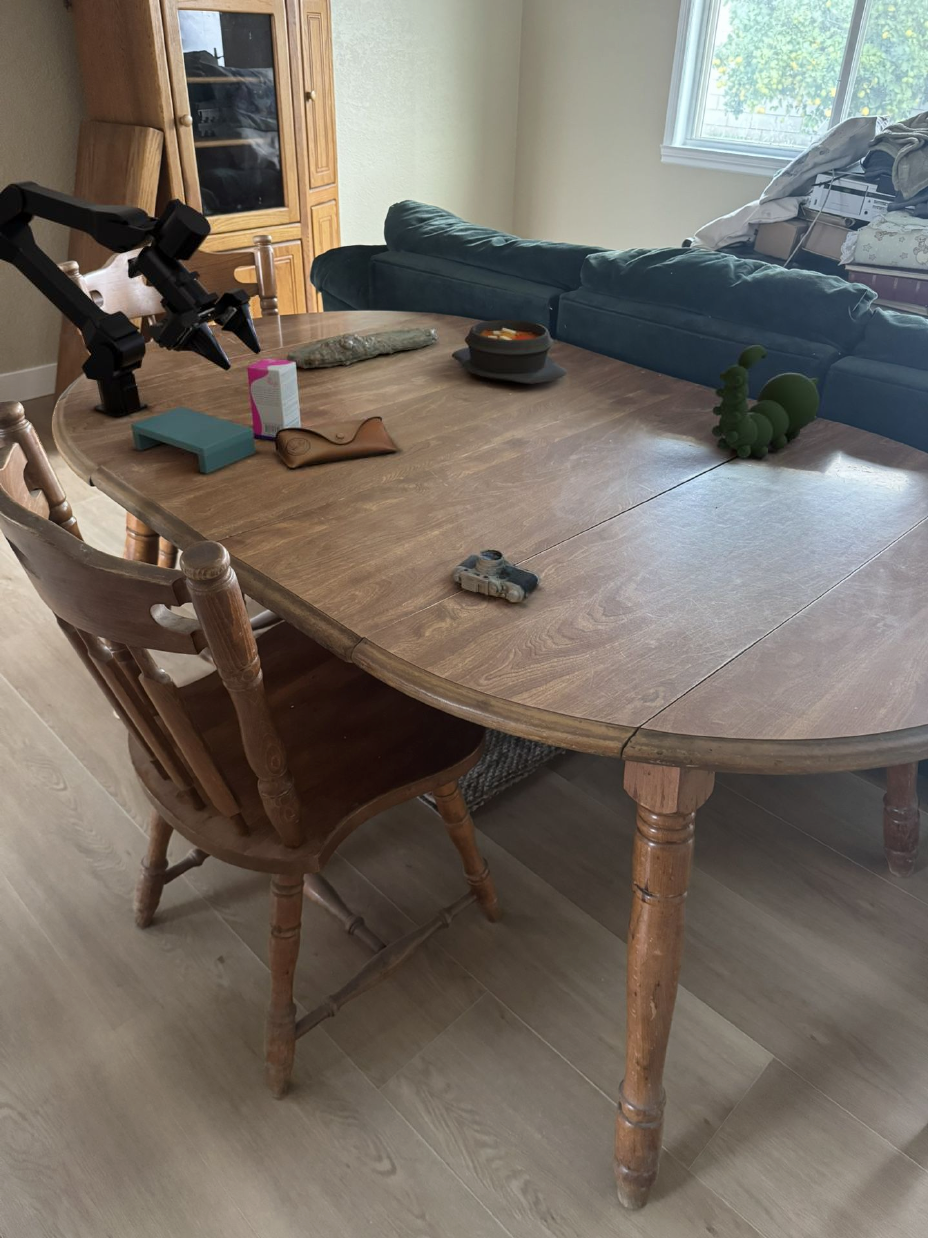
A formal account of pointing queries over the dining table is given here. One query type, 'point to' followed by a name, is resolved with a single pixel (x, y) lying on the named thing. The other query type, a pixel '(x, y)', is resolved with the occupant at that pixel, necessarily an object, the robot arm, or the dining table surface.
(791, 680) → the dining table surface
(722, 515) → the dining table surface
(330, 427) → the sunglasses case
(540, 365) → the casserole
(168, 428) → the shelf
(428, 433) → the dining table surface
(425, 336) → the elongated rock
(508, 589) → the camera
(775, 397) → the toy figurine
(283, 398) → the supplement box
